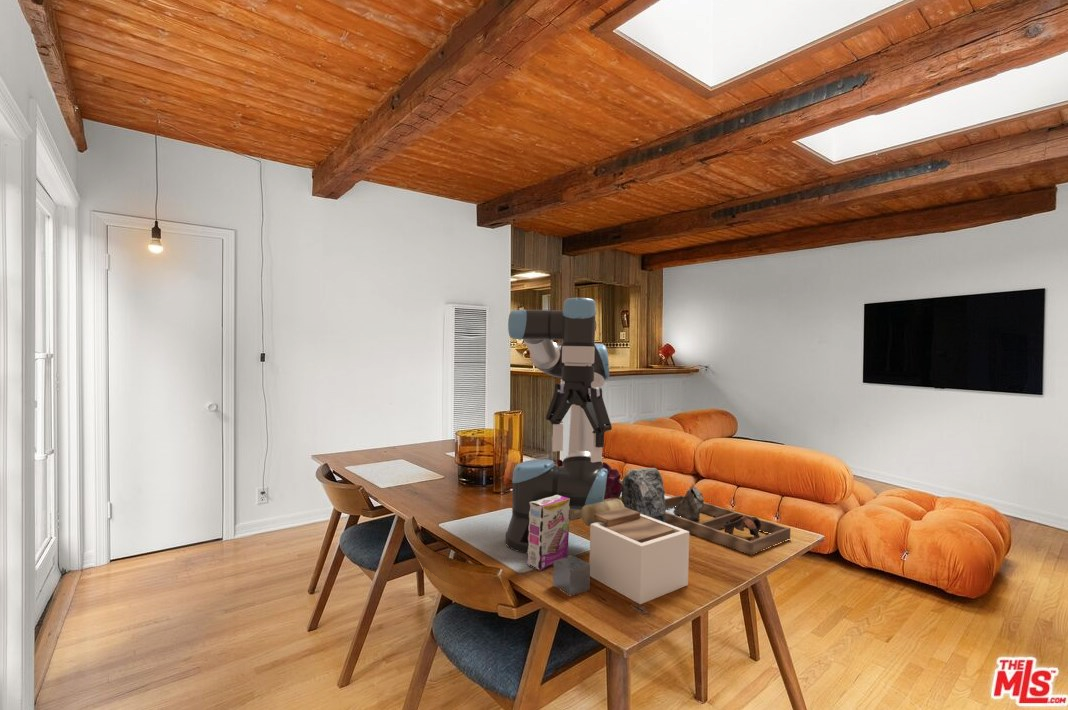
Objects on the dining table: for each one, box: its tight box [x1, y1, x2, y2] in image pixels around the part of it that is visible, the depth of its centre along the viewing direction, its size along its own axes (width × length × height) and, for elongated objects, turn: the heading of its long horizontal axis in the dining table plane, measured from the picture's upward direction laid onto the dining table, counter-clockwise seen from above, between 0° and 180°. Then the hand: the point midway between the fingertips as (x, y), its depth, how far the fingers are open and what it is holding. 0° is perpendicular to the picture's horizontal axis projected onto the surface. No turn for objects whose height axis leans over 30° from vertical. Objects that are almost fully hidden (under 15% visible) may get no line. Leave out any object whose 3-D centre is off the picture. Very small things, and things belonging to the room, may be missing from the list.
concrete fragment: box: [673, 486, 705, 522], centre depth 168 cm, size 6×19×11 cm, turn 14°
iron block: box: [552, 554, 591, 596], centre depth 117 cm, size 6×6×6 cm
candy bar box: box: [526, 495, 570, 572], centre depth 131 cm, size 11×5×16 cm, turn 136°
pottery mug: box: [723, 514, 761, 541], centre depth 151 cm, size 12×10×8 cm
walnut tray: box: [665, 494, 791, 556], centre depth 160 cm, size 40×21×4 cm, turn 36°
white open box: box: [589, 514, 690, 605], centre depth 122 cm, size 17×17×13 cm
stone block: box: [621, 467, 666, 522], centre depth 152 cm, size 18×9×20 cm, turn 132°
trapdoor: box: [581, 499, 674, 543], centre depth 126 cm, size 20×13×5 cm, turn 36°
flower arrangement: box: [554, 459, 622, 500], centre depth 187 cm, size 31×20×15 cm, turn 48°
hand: (575, 456), depth 117 cm, fingers open, 13 cm apart
